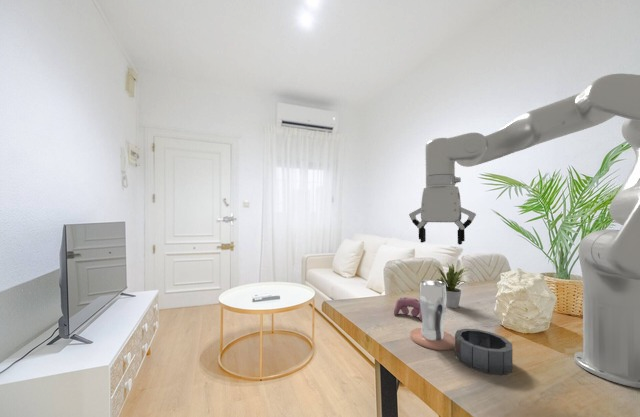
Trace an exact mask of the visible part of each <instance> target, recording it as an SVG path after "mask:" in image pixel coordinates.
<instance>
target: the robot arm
mask: <svg viewBox="0 0 640 417" xmlns="http://www.w3.org/2000/svg"><path fill="white" fill-rule="evenodd" d="M614 117H621V118H623V119H625V120H624V122H623V123H622V125H621V135H622V137H623V139H624V140H625V141H626V142H627V143H628V144H629V146H630V147H631V148H632V150H633V151H634V154H635V162H634V164H633V166H632V169H630V170H631V171H630V173H629V174H628V175H627V177H626V179H625V180H624V181H623V183H622V185H621V187H620V188H619V189H618V191H617V193H616V195H615V196H614V198H613V199H612V200H611V203H610V204H609V209H608V210H609V211H608V212H609V216H610V217H611V219H612V220H613V221H615V222H616V223H617V224H619V225H621V227H620V229H600V230H594V231H592V232H590V233H588V234H587V235H585V236H584V237H583V238H581V241H580V242H579V246H578V259H579V265H580V269H581V276H582V336H583V337H582V345H583V348H582V349H583V351H578V352H576V353H574V356H573V357H574V358H573V360H574V362H575V363H576V364H577V365H578V366H579V367H580V368H582V369H584V370H585V371H587V372H588V373H590V374H593V375H595V376H597V377H599V378H602V379H604V380H607V381H610V382H613V383H615V384H619V385H623V386H627V387H631V388H636V389H640V74H633V73H611V74H607V75H604V76H601V77H598V78H597V79H596V80H593V81H592V82H591V83H590V84H589V85H587V87H585V88H584V89H583V90H581V92H578V93H577V94H574V95H571V96H569V97H566V98H563V99H561V100H557V101H555V102H552V103H549V104H546V105H543V106H541V107H537V108H535V109H533V110H530V111H527V112H525V113H523V114H521V115H520V116H518V117H517V118H515V119H513V121H511V122H509V123H508V124H506V125H505V126H504V127H502V128H500V129H498V130H496V131H494V132H492V133H490V134H488V135H484V134H483V133H479V132H468V133H463V134H459V135H456V136H452V137H438V138H434V139H431V140H429V141H428V142H427V143H426V144H425V187H424V188H423V189H422V190H423V191H422V195H421V202H420V203H421V205H420V207H419V208H418V209H415V210H414V211H412V212H410V213H409V214H408V215H409V216H408V217H409V218H410V220H411V221H412V223H413V224H414V225H415V227H417V229H418V240H420V243H422V244H423V243H425V242H426V240H427V239H426V228H425V226H426V225H427V224H428V223H454V224H455V225H456V226H457V227H458V229H457V244H458V245H459V246H460V245H462V244H463V242H465V241H466V240H465V239H466V238H465V237H466V236H465V229H466V228H468V226H470V225H471V224H472V223H473V221H474V219H475V218H476V217H477V214H476V213H475V212H473V211H471V210H469V209H466V208H464V207H462V204H461V203H462V202H461V195H460V190H459V187H458V186H456V184H458V183H461V182H462V181H461V180H462V179H461V177H457V176H456V174H455V173H456V172H455V171H456V170H455V169H456V168H455V165H456V164H455V163H457V164H458V165H460V166H462V167H466V168H469V167H474V166H478V165H479V166H480V165H482V164H485V163H488V162H492V161H494V160H496V159H500V158H503V157H506V156H508V155H511V154H514V153H516V152H520V151H524V150H527V149H529V148H531V147H535V146H537V145H539V144H542V143H546V142H548V141H552V140H554V139H558V138H561V137H564V136H567V135H570V134H574V133H576V132H580V131H584V130H587V129H590V128H594V127H596V126H598V125H600V124H603V123H605V122H607V121H609V120H610V119H613V118H614ZM462 214H464V215H467V216H468V218H467V220H466V221H464V222H462ZM418 215H420V218H421V221H419V220H418V219H417V216H418Z"/></svg>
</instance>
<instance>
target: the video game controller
mask: <svg viewBox="0 0 640 417" xmlns="http://www.w3.org/2000/svg"><path fill="white" fill-rule="evenodd" d="M409 308H412V309H411V310H409ZM400 310H401V312H402V314H403V315H409V313H410V314H411V315H412V316H413V317H418V318H419V320H420V322H422V315H421V309H420V301H419V299H417V298H413V297H399V298H398V299H397V301H396V303H395V305H394V308H393V314H394V316H398V315H399V313H400Z"/></svg>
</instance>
